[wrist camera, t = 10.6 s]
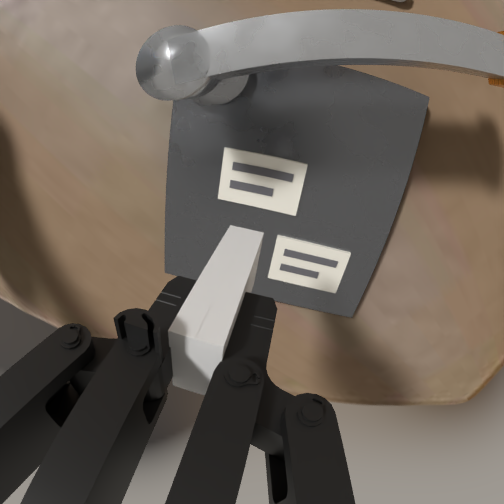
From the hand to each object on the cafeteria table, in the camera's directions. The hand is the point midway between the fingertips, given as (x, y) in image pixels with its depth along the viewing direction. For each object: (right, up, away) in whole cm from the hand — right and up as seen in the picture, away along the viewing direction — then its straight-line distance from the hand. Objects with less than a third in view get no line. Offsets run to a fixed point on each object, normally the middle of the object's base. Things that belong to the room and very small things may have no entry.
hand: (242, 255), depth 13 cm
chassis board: (+3, +5, +9) cm, 11 cm away
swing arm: (+6, +11, -2) cm, 12 cm away
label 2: (+5, -1, +10) cm, 12 cm away
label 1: (+1, +5, +8) cm, 9 cm away
